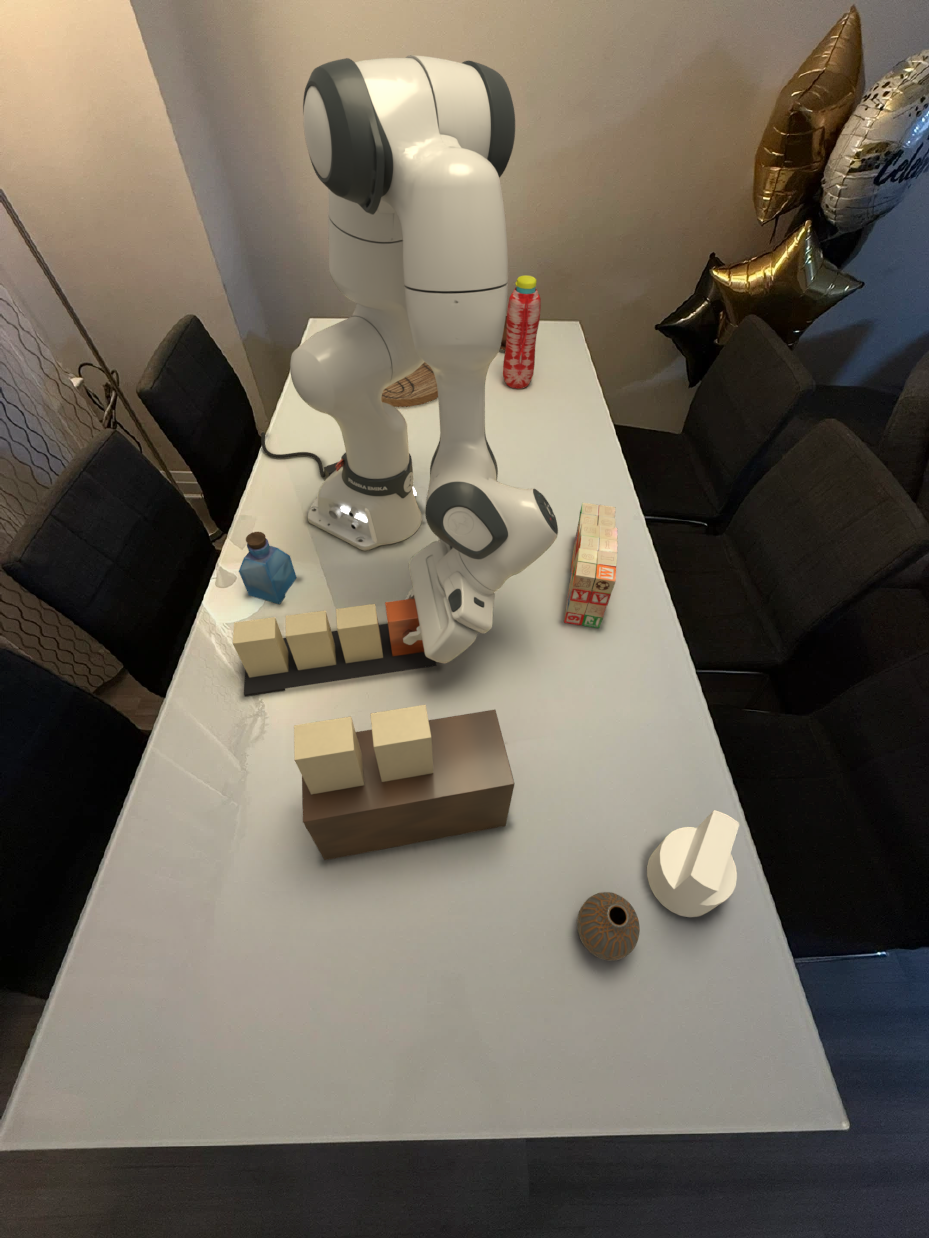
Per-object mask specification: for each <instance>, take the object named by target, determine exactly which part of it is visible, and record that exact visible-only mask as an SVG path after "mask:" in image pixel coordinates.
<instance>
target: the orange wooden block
mask: <svg viewBox="0 0 929 1238" xmlns="http://www.w3.org/2000/svg"><path fill="white" fill-rule="evenodd" d="M405 599H406V598H405ZM405 599H400V600H392V601H385V602H384V605H385V614H386V619H387V624H388V628H389V635H390V642H391V649H392V656H399V655H406V654H413V653H419V652H424V646H423V641H422V640H417V641H416V642H415V643H413V644H412V645H408V644H406V643H404V642H403V636H402V634H403V633H404V632H405V631H407V630H408V629H410V630H412V631H414V632H416V631H417V627H418V626H420V625H419V619H418V614H417V608H416V603H415V598H413V599H406V600H405Z"/></svg>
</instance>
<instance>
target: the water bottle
mask: <svg viewBox="0 0 929 1238" xmlns="http://www.w3.org/2000/svg"><path fill="white" fill-rule="evenodd" d="M514 284H515V286H516V287H514V289H513V291H511V294H510V295H509V298H508V302H507V310H506V316H507V339H506V341H505V342H504V344H505V345H506V349H505V350H504V357H503V364H502V376H503V380H504V382H505V384H506V386H508V387H509V388H511V389H517V390H519V389H525V388H526V387H528V386H529V384H530V383H531V381H532V378H533V377H534V371H535V361H536V344H537V335H538V330H539V326H540V319H541V310H542V309H541V307H542V305H541V304H542V302H541V299H542V298H541V296H540V294H539V291H538V288H537V278H536V277H534V276H532V275H527V274H526V275H519V276H518V277H517V279H516V281H515V283H514Z"/></svg>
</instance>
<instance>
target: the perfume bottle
mask: <svg viewBox="0 0 929 1238" xmlns="http://www.w3.org/2000/svg"><path fill="white" fill-rule="evenodd" d="M245 542H246V548H247V550H248V552H247V553H246V555H245V556H244V557H243V559H242V560H241V561H242V562H241V563H240V566H239V569H238V574H239V575H240V578H241V580H242V583H243V585H244V588H245V590H246V592H247V595H248V596H249V597H253V598H256V599H261V600H263V601H267V602H269V603H273V604H277V605H281V604H282V602H283V601H284V599H285V598H286V594H287V592H288V591H289V590H290V589H291V587H292V586H293V584H294V582H295V581H296V580H297V579H298V577H297V574H296V570H295V567H294V564H293V561H292V557H291V555H290V554H288V553H287V552H285V551H284V550H283V549H280V548H278V547H275V546H272V545H270V542H269V540H268V538H267V536H266V534H265V533H264V532H262V531H252V532H250V533H248V535H247V536H246V537H245Z"/></svg>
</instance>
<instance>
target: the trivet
mask: <svg viewBox="0 0 929 1238" xmlns="http://www.w3.org/2000/svg"><path fill="white" fill-rule="evenodd" d="M436 399H438V388H437V382H436V378H435V375H434V372H433V370H432V368H431V367H430V366H429V365H428V364H427V363H425V362H424V363H423V364H422V365H421V366H420V367H419V368H418V369H417V370H416V371H415V372H413V373H412V374H410V375H408V376H406V377H404V378H403V379H401V380H399V381H397V382H395V383H393V384H392V385H390V386H388V387H387V388H385V389H384V390H383V393H382V396H381V401H382V402H384V403H387V404H390V405H392V406H394V407H395V408H397V407H398V408H402V407H404V408H405V407H414V406H419V405H423V404H427V403H429V402H432V401H435V400H436Z"/></svg>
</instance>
